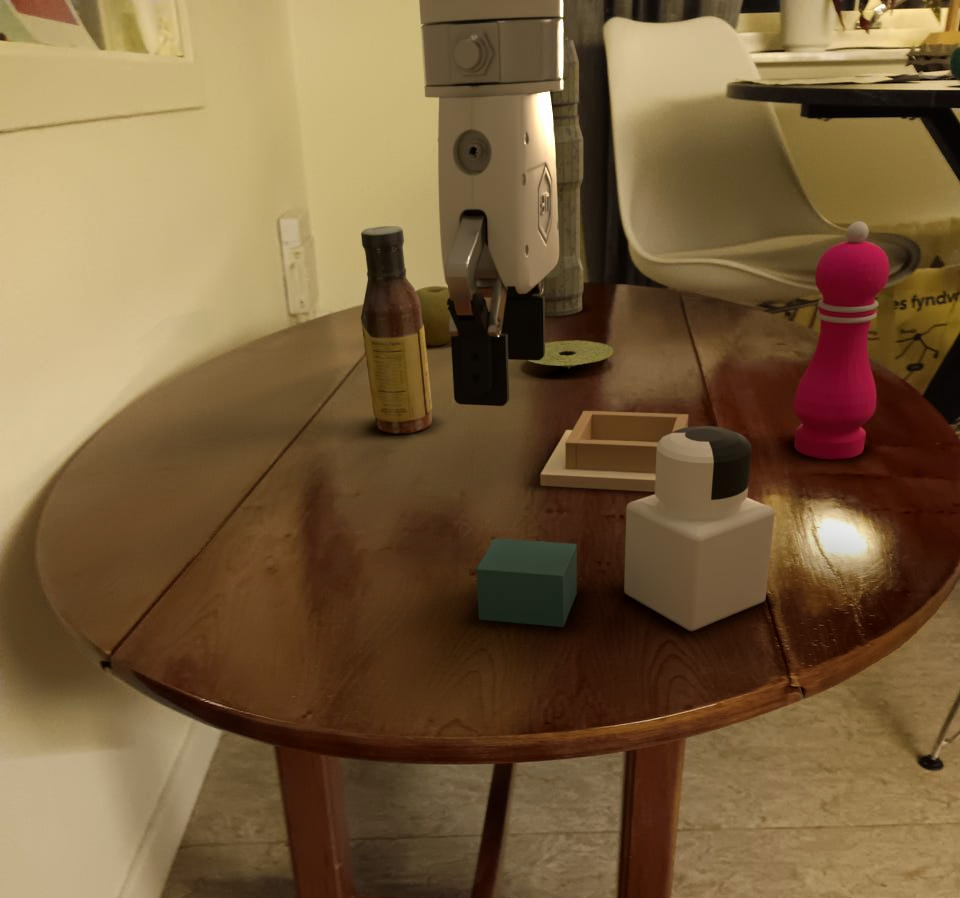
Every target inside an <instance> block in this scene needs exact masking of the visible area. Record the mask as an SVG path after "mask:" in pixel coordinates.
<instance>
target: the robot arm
mask: <svg viewBox="0 0 960 898" xmlns="http://www.w3.org/2000/svg"><path fill="white" fill-rule="evenodd" d="M418 4H419V17H420V25H421V27H420V30H421V31H420V34H421V35H420V36H421V50H422V66H423V82H424V97H425V98H438V127H437V130H438V131H437V132H438V133H437V134H438V135H437V136H438V137H437V143H438V144H437V162H438V163H437V164H438V165H437V169H438V170H437V171H438V174H437V176H438V179H437V180H438V214H439V215H438V216H439V238H440V250H441V261H442V270H443V277H444V281H445V284H446V285H447V288H448V290H449V294H450V298H448V300H447V305H449V307H448V310H449V311H450V320H449V332H450V335H451V342H450V347H451V348H450V350H451V364H452V365H451V366H452V367H451V368H452V384H453V399H454V402H455V403H457V404H458V405H469V406H488V407H503V406H505V405H506V404H507V403H508V402H509V400H510V376H509V375H510V374H509V373H510V372H509V371H510V370H509V360H511V361H515V360H516V361H528V360H541V359H542V358H543V357H544V355H545V343H546V316H545V296H535V295H542V294H543V290H544V277H545V276H546V275H547V274H548V273H549V272H550V271H551V270H552V269H553V268H554V267H555V266H556V264H557V262H558V259H559V229H558V203H557V178H556V155H555V139H554V126H553V115H552V107H551V99H550V92H557V91H561V90H563V79H562V78H563V37H564V20H563V18H564V0H419V1H418ZM486 298H490V303H489V308H488V305H487V300H486Z"/></svg>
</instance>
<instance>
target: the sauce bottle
mask: <svg viewBox="0 0 960 898" xmlns="http://www.w3.org/2000/svg"><path fill="white" fill-rule="evenodd" d="M360 236H361V245H362V247H363V250H364V254H365V262H366V269H367V272H366V276H367V281H366V286H365V287H366V288H365V292H364V298H363V305H362V310H361V314H360V324H361V329H362V338H363V345H364V354H365V360H366V367H367V374H368V381H369V390H370V397H371V405H372V411H373V416H374V418H375V425H376V426H377V428H378V430H379V431H382V432H384V433H388V434H393V435H410V434H414V433H417V432H422V431H424V430H427V429H428V428H429V427H430V426H431V425H432V421H433V416H432V410H433V402H432V392H431V381H430V373H429V372H430V371H429V363H428V362H429V361H428V354H427V353H428V352H427V346H426V342H425V332H424V324H423V323H422V313H421V304H420V300H419V297H418V295H417V293H416V291H417V290H416V289H415V288H414V286H413V285H412V284H411V282H410V281H409V280H408V279H407V268H406V265H405V256H404V249H403V247H404V243H405V238H404V230H403V228H402V227H401V226H397V225H383V226H375V227H369V228H368V227H367V228H365V229H363V230H362V231H361V233H360Z"/></svg>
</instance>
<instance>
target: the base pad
mask: <svg viewBox="0 0 960 898" xmlns="http://www.w3.org/2000/svg"><path fill="white" fill-rule="evenodd" d="M686 427H689V414H688V413H661V412H633V411H631V412H630V411H600V410H583V411H582V413H581V415H580V416H579V418H578V420H577V421H576V424H575V425H574V427H573V429H566V430H565V431H564V433H563V434H562V436H561V438H560V440H559V442H558V443H557V445H556V447H555V448H554V450H553V452H552V454H550V455H551V456H550V457H549V459H548V460H547V462H546V463H545V465H544V468H543V469H542V471H541V472H540V478H539V479H540V486H541V487H558V488H574V489H575V488H578V489H594V490H612V491H613V490H614V491H628V492H629V491H630V492H631V491H633V492H650V493H655V477H656V453H657V443H658V442H659V441H660V440H661V439H662V437H663V436H665V435H666V434H668V433H670V432H673V431H676V430H679V429H682V428H686Z"/></svg>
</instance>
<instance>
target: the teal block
mask: <svg viewBox="0 0 960 898" xmlns="http://www.w3.org/2000/svg"><path fill="white" fill-rule="evenodd" d="M577 571H578V544H577V543H567V542H552V541H539V540H526V539H525V540H523V539H508V538H494V539H493V540H492V542H491V544H490V545H489V547H488V549H487V550H486V552H485V554H484V555H483V557H482V559H481V560H480V561H479V564H478V565H477V567H476V568H475V576H476V577H475V578H476V593H477V607H478V608H477V610H478V620H481V621H491V622H493V621H494V622H503V623H514V624H523V625H524V624H525V625H535V626H547V627H558V628H564V627H565V624H566V621H567V619H568V616H569V614H570V612H571V609H572V606H573V604H574V601H575V599H576V596H577V594H578V572H577Z"/></svg>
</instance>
